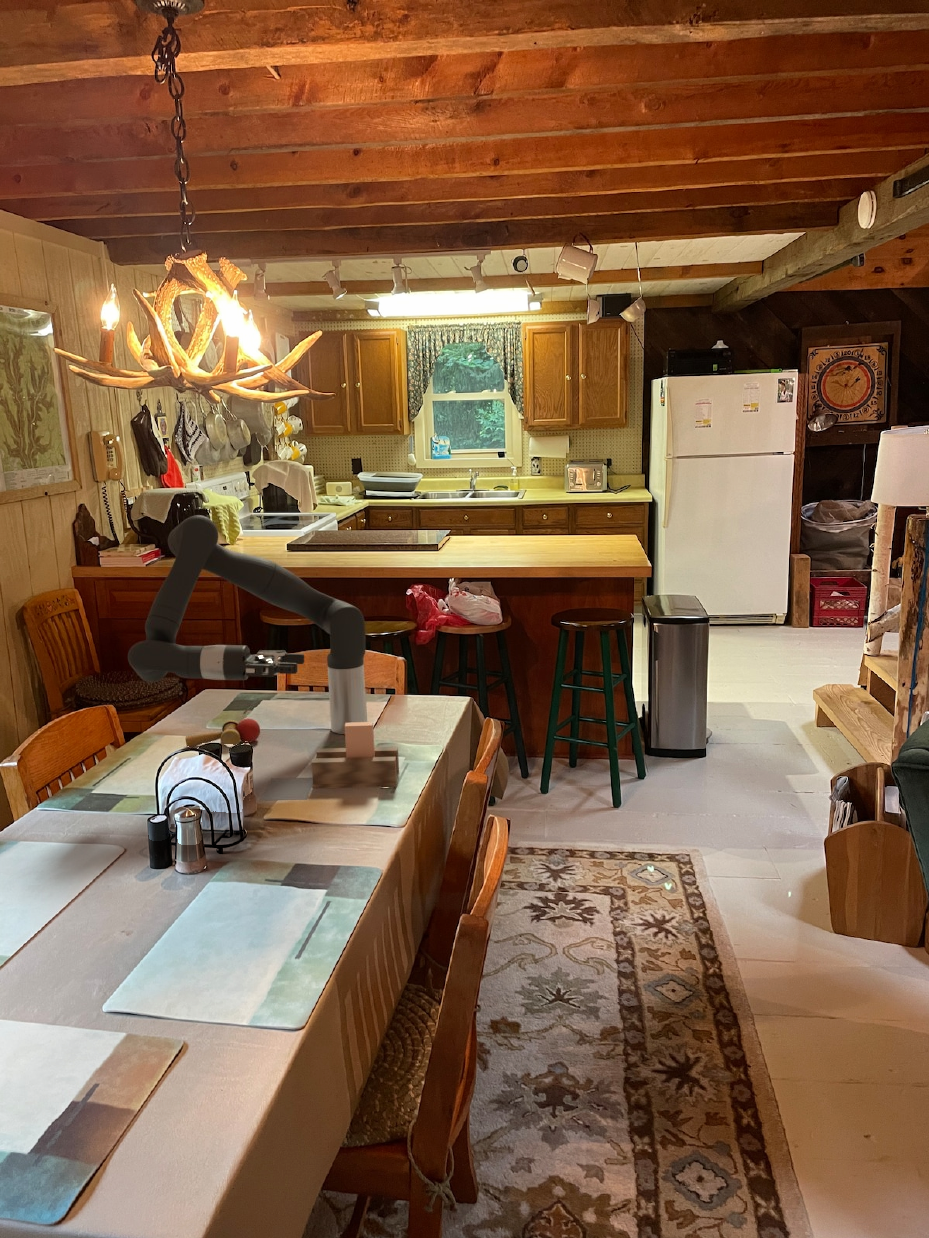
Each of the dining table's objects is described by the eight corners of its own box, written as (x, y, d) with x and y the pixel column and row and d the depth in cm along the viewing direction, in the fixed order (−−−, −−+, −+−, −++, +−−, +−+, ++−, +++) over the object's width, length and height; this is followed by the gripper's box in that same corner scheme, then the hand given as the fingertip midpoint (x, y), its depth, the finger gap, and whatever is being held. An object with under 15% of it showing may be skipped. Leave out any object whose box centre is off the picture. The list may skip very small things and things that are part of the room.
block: (347, 778, 199) (344, 726, 197) (348, 773, 202) (345, 722, 199) (374, 777, 199) (372, 725, 197) (375, 773, 202) (373, 721, 199)
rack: (313, 789, 196) (311, 762, 195) (319, 774, 205) (318, 748, 204) (396, 787, 196) (394, 760, 195) (399, 772, 205) (398, 746, 204)
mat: (259, 802, 191) (259, 800, 191) (271, 780, 203) (271, 778, 202) (306, 800, 191) (306, 799, 191) (316, 778, 202) (316, 777, 202)
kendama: (187, 759, 221) (261, 741, 224) (182, 733, 221) (256, 717, 224) (191, 753, 229) (262, 737, 232) (186, 729, 228) (257, 713, 231)
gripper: (216, 652, 188) (294, 654, 188) (233, 638, 202) (305, 639, 202) (217, 687, 189) (295, 689, 189) (234, 671, 203) (306, 672, 203)
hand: (300, 663), depth 196 cm, fingers open, 8 cm apart
